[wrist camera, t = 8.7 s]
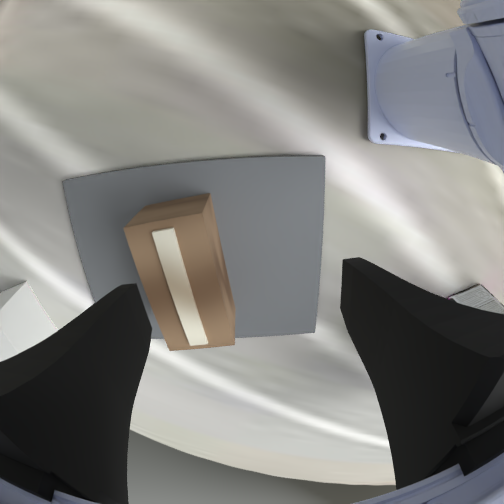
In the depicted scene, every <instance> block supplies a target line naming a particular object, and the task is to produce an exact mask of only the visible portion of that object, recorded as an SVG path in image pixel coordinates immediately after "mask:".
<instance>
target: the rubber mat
mask: <svg viewBox="0 0 504 504" xmlns="http://www.w3.org/2000/svg"><path fill="white" fill-rule="evenodd" d="M63 186H64V191H65V196H66V201H67V206H68V211H69V215H70V219H71V224H72V228H73V232H74V236H75V240H76V243H77V247H78V251H79V254H80V258H81V261H82V264H83V268H84V271H85V274H86V277H87V280H88V283H89V286H90V289H91V292H92V295H93V298H94V301H95V303H96V302H97V301H98V300H100V299H101V298H102V297H104V296H105V295H106V294H108V293H109V292H110V291H112V290H113V289H115V288H116V287H118V286H120V285H122V284H133V283H137V286H138V289H139V292H140V295H141V298H142V301H143V304H144V307H145V310H146V312H147V315H148V318H149V321H150V323H151V326H152V334H151V339H164V337H163V334H162V332H161V330H160V327H159V325H158V322H157V320H156V318H155V315H154V313H153V310H152V308H151V305H150V303H149V300H148V297H147V295H146V292H145V290H144V287H143V284H142V282H141V279H140V276H139V273H138V270H137V268H136V265H135V262H134V259H133V256H132V253H131V250H130V247H129V244H128V241H127V238H126V235H125V232H124V227H125V226H126V225H127V224H128V223H129V222H130V221H131V219H132V218H133V217H134V216H135V215H136V214H137V213H138V212H139V211H140V210H141V209H142V208H143V207H144V206H147V205H151V204H156V203H161V202H166V201H171V200H176V199H181V198H186V197H191V196H197V195H202V194H208V193H211V198H212V203H213V208H214V213H215V218H216V222H217V227H218V232H219V237H220V241H221V246H222V251H223V255H224V260H225V264H226V269H227V273H228V278H229V282H230V287H231V291H232V295H233V300H234V304H235V309H236V311H235V338H243V337H263V336H279V335H292V334H304V333H315V326H316V316H317V306H318V295H319V284H320V271H321V256H322V240H323V220H324V193H325V156H261V157H240V158H224V159H210V160H198V161H187V162H177V163H168V164H160V165H151V166H144V167H136V168H129V169H123V170H116V171H110V172H104V173H98V174H92V175H87V176H81V177H76V178H71V179H66V180H64V181H63Z"/></svg>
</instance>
